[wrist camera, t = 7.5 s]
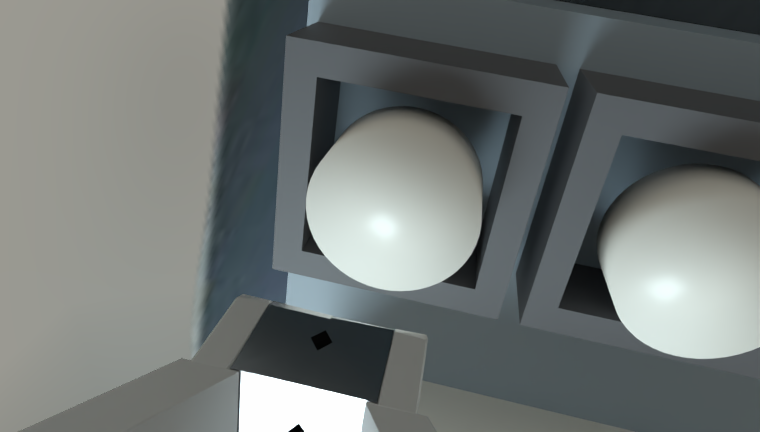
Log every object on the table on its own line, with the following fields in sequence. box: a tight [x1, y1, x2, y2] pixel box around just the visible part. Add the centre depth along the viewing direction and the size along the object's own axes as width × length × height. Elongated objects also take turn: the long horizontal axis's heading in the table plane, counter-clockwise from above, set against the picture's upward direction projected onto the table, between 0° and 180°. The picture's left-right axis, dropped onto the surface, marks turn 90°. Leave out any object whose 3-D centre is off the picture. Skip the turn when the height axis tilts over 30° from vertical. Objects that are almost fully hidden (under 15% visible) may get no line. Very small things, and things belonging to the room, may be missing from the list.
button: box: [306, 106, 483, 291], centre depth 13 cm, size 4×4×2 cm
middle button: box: [596, 163, 760, 359], centre depth 12 cm, size 4×4×2 cm
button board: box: [272, 0, 760, 432], centre depth 16 cm, size 21×14×6 cm, turn 82°
